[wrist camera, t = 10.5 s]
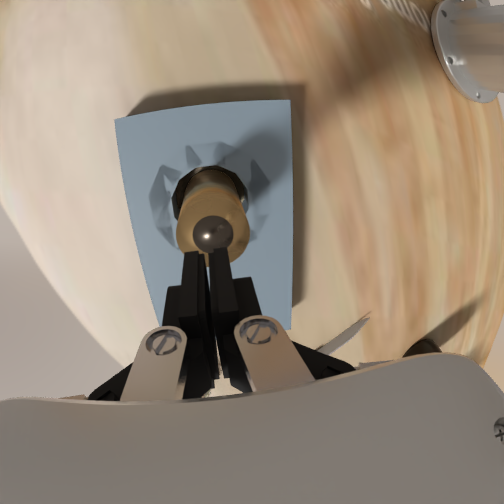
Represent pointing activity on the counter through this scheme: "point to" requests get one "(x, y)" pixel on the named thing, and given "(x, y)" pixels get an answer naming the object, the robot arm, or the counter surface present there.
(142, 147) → the plate
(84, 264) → the counter surface
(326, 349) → the kitchen knife
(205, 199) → the amber peg
